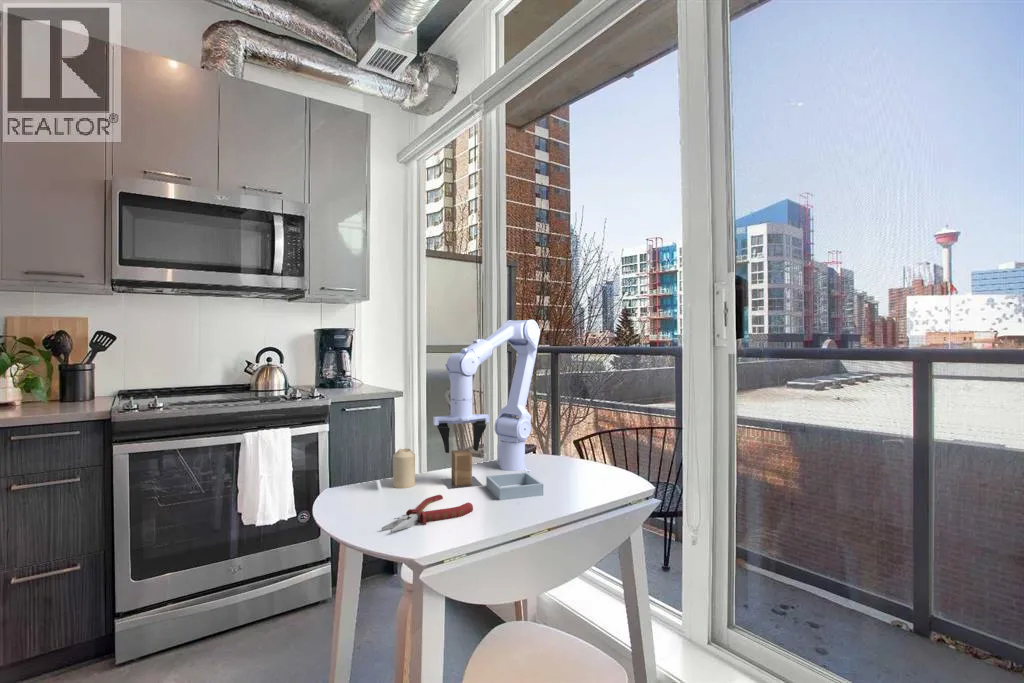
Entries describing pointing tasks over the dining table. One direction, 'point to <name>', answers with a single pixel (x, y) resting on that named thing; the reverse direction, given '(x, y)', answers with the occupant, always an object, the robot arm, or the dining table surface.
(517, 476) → the bin
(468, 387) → the robot arm
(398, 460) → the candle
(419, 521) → the pliers
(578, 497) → the dining table surface
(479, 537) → the dining table surface
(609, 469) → the dining table surface
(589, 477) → the dining table surface
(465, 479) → the brown block
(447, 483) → the base
